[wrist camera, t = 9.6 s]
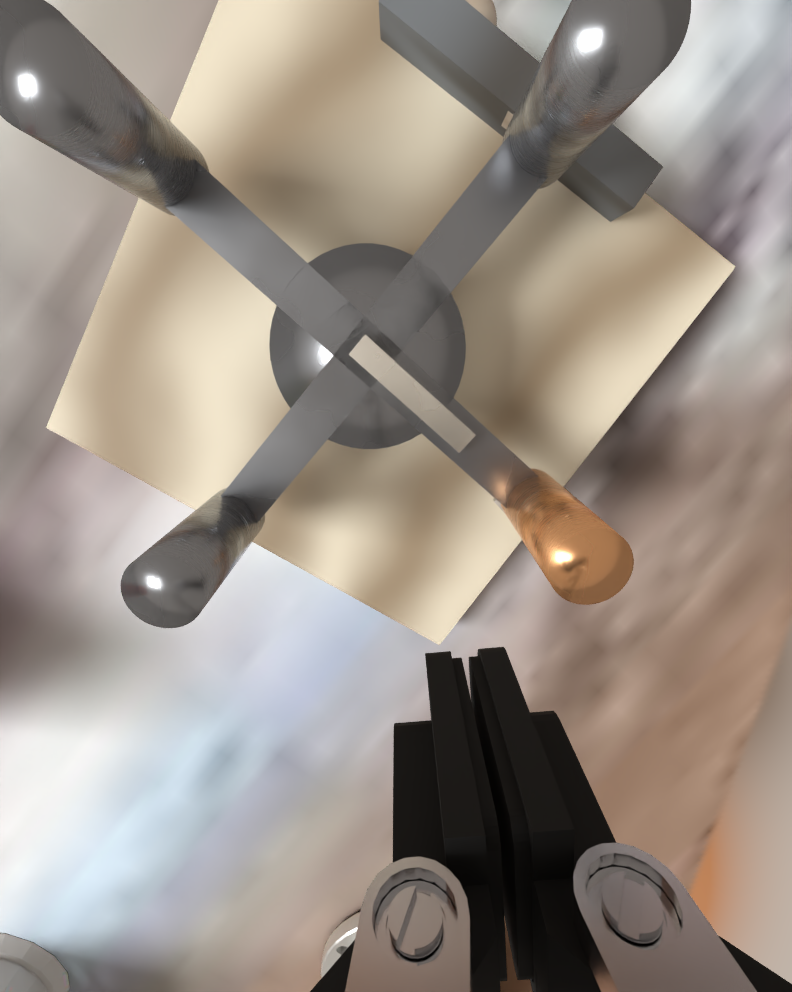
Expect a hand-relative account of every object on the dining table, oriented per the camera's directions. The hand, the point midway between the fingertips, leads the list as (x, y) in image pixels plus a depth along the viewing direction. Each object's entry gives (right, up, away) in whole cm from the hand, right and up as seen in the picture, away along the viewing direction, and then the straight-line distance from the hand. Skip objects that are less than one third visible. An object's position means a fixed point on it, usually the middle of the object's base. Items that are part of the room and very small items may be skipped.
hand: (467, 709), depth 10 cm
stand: (-2, +11, +11) cm, 15 cm away
